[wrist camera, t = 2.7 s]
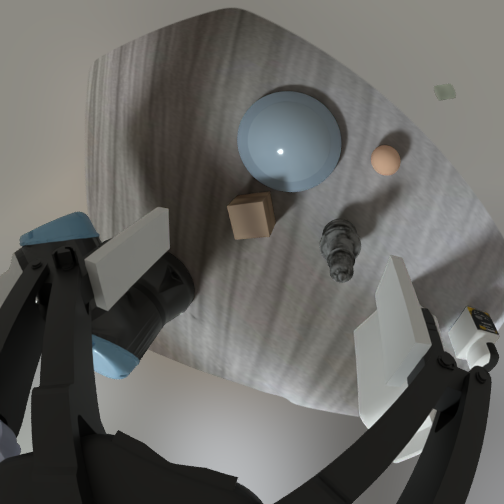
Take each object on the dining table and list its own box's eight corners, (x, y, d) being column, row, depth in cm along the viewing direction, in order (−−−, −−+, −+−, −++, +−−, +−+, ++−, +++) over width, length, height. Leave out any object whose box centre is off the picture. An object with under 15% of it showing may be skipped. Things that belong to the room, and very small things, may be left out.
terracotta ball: (366, 167, 35) (370, 173, 31) (372, 139, 33) (377, 143, 29) (392, 175, 34) (399, 182, 31) (399, 148, 32) (407, 152, 29)
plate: (234, 178, 40) (231, 181, 39) (247, 85, 33) (244, 84, 32) (328, 199, 38) (328, 202, 37) (349, 104, 31) (350, 103, 30)
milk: (393, 354, 49) (400, 472, 27) (353, 330, 48) (349, 462, 26) (436, 317, 42) (468, 441, 20) (398, 288, 42) (426, 429, 20)
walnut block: (244, 225, 44) (235, 239, 39) (237, 195, 42) (226, 206, 37) (276, 222, 42) (269, 236, 38) (269, 191, 40) (262, 201, 36)
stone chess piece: (322, 214, 40) (320, 254, 29) (361, 220, 38) (372, 261, 28) (318, 250, 42) (312, 297, 32) (354, 255, 41) (360, 304, 31)
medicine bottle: (488, 312, 39) (509, 355, 28) (469, 338, 42) (485, 381, 32) (466, 305, 39) (487, 350, 29) (447, 332, 43) (461, 378, 33)
